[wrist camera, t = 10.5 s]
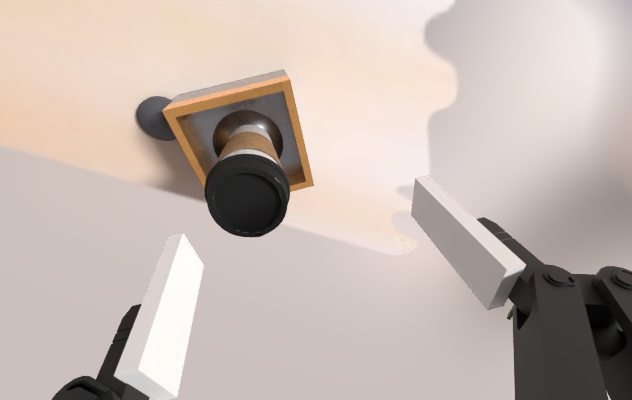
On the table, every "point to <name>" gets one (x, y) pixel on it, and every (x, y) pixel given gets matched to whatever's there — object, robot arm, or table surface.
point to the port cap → (155, 118)
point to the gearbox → (241, 123)
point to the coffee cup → (248, 185)
